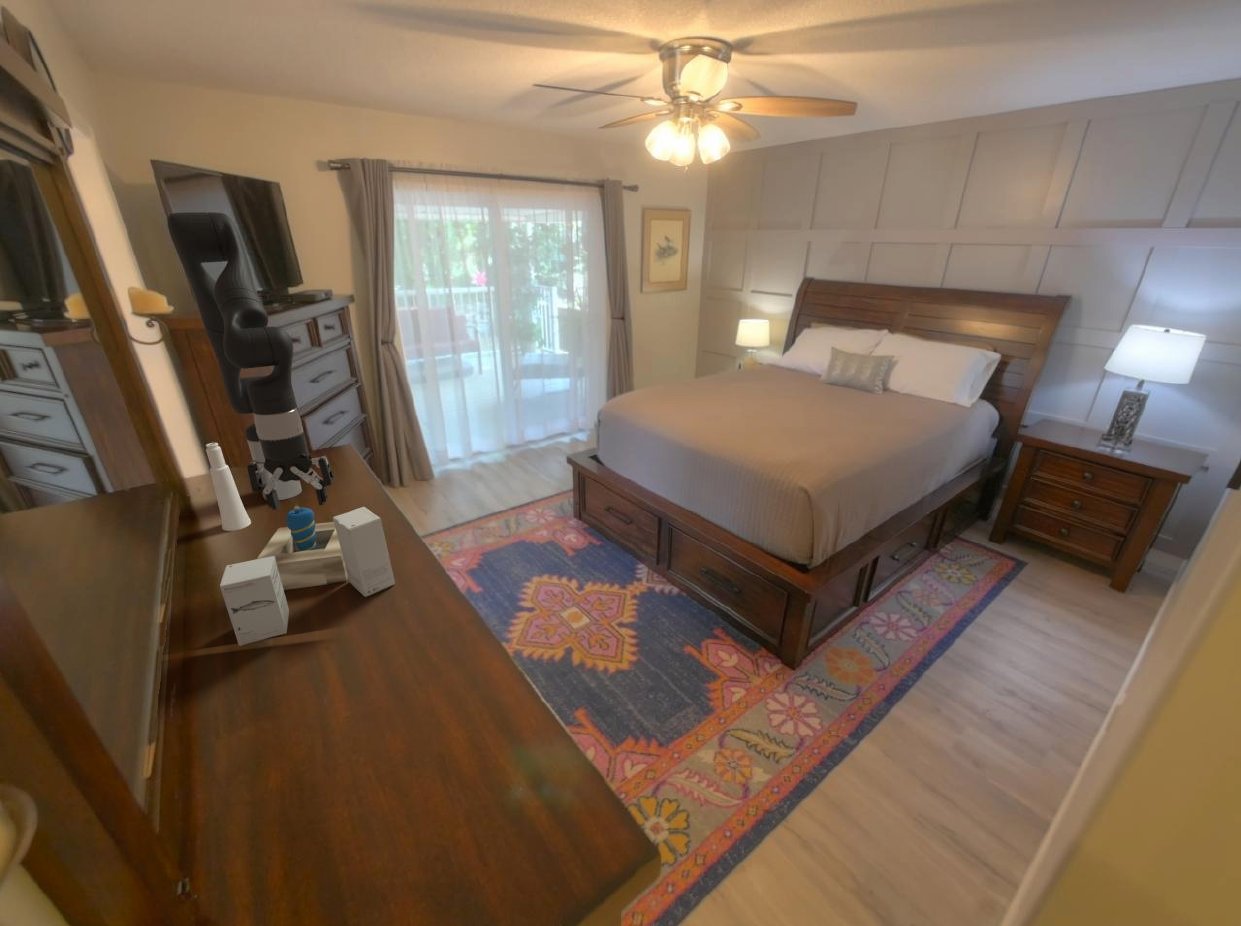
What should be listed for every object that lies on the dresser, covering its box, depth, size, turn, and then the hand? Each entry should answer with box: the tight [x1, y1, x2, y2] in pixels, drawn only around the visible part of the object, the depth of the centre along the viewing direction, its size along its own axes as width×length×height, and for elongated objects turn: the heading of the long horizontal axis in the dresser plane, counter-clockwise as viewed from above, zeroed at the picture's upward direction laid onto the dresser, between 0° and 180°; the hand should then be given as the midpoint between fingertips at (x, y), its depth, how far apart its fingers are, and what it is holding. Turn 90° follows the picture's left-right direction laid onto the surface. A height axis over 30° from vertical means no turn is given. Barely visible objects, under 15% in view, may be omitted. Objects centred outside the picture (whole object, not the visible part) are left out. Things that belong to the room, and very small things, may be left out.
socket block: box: [256, 521, 349, 591], centre depth 110 cm, size 16×16×6 cm
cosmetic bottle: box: [205, 442, 252, 532], centre depth 123 cm, size 6×6×22 cm
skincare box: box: [332, 506, 396, 598], centre depth 102 cm, size 8×7×16 cm
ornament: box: [285, 503, 317, 551], centre depth 108 cm, size 5×5×15 cm
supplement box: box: [219, 556, 290, 647], centre depth 90 cm, size 7×7×13 cm
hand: (299, 505), depth 106 cm, fingers open, 8 cm apart
